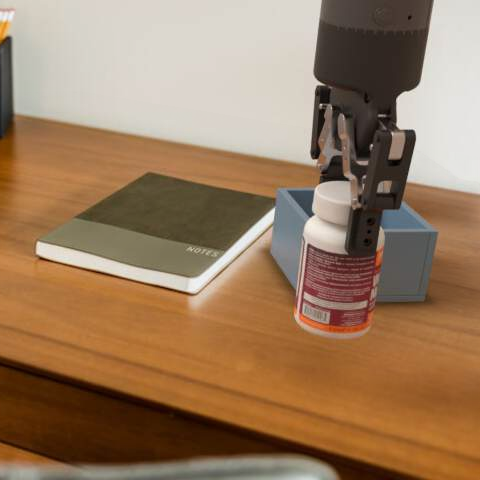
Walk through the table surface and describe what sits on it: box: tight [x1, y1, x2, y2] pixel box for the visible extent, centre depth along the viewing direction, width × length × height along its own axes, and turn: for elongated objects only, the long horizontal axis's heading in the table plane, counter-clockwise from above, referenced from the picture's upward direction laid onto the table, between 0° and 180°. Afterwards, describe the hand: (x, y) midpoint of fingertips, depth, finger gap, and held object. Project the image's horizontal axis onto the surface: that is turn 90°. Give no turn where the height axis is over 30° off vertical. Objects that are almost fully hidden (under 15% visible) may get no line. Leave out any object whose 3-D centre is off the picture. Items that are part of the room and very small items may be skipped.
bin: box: [269, 187, 439, 303], centre depth 94 cm, size 13×13×8 cm
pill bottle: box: [293, 181, 385, 340], centre depth 70 cm, size 6×6×11 cm
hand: (343, 235), depth 70 cm, fingers closed on pill bottle, 6 cm apart
